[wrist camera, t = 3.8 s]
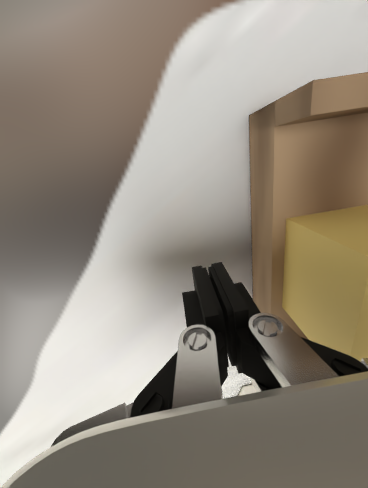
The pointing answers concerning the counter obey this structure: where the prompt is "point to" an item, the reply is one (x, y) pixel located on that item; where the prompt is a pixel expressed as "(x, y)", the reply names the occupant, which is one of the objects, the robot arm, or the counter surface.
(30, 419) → the counter surface
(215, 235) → the counter surface
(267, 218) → the wooden tray
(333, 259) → the block
